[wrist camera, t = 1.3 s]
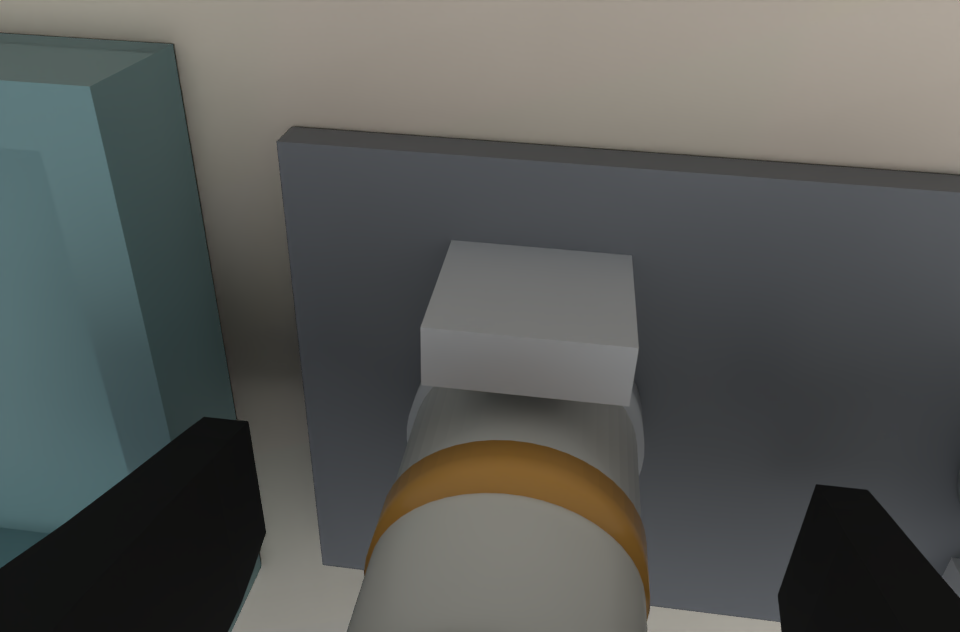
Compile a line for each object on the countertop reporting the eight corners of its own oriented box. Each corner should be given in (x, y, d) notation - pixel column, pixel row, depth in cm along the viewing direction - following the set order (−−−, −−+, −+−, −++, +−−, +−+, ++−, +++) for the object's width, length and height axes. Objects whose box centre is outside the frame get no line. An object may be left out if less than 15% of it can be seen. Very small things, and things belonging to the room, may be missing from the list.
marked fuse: (563, 527, 13) (538, 963, 8) (381, 434, 13) (231, 839, 8) (689, 389, 11) (757, 835, 6) (484, 275, 11) (380, 663, 6)
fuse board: (1523, 216, 9) (1836, 347, 7) (1184, 643, 14) (1308, 815, 11) (291, 126, 11) (204, 211, 8) (332, 539, 15) (282, 674, 13)
